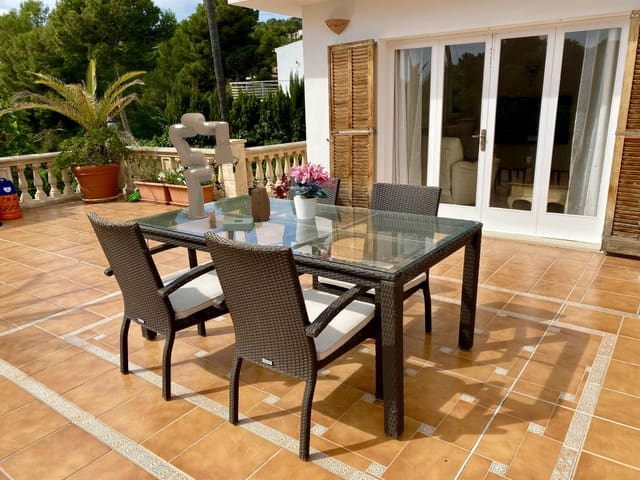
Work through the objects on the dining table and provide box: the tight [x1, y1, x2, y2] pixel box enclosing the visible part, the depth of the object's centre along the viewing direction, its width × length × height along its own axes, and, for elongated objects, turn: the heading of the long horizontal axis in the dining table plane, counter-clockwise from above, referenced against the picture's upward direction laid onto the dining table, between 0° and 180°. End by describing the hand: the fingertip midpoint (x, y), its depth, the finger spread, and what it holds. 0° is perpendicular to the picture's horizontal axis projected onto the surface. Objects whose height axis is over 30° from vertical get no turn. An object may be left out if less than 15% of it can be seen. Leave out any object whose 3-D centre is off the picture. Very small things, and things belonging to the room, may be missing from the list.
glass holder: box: [247, 186, 269, 212], centre depth 331 cm, size 9×14×15 cm, turn 70°
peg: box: [208, 210, 217, 230], centre depth 286 cm, size 4×4×10 cm
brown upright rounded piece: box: [251, 186, 271, 223], centre depth 302 cm, size 11×8×20 cm
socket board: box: [222, 217, 255, 232], centre depth 286 cm, size 16×14×4 cm
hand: (225, 173), depth 287 cm, fingers open, 9 cm apart
